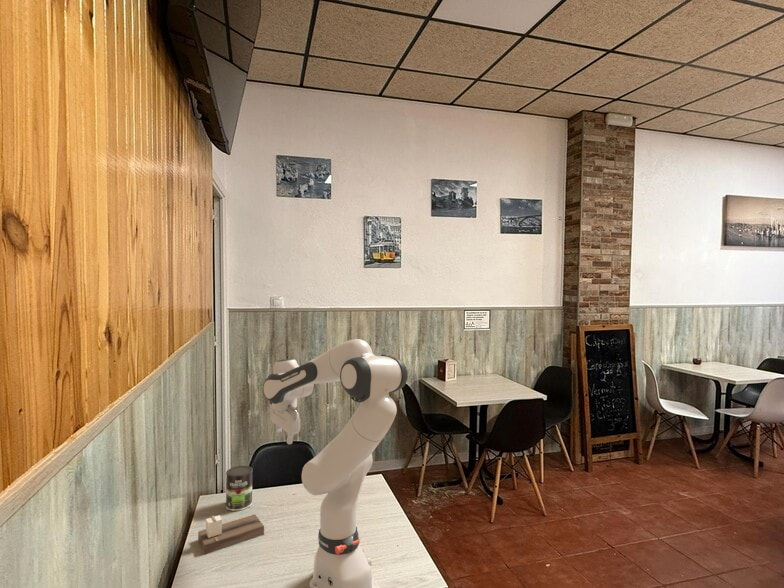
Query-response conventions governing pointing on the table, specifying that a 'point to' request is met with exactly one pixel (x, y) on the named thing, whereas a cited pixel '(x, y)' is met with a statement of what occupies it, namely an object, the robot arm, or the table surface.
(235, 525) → the brown slider board
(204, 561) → the table surface
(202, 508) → the table surface
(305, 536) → the table surface
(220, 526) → the fader tab
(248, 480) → the coffee can
